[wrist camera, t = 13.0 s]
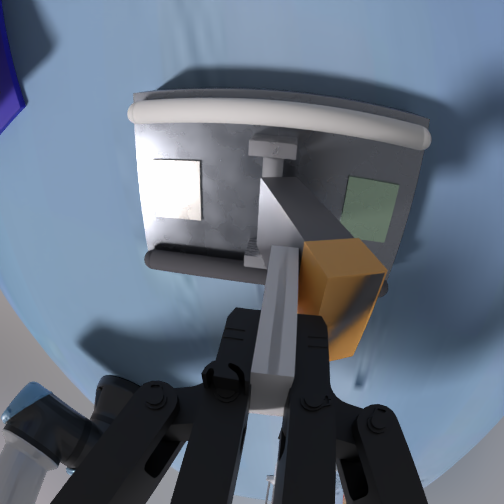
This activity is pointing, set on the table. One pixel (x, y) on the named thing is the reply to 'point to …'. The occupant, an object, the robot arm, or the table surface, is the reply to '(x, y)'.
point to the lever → (319, 257)
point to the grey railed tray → (268, 116)
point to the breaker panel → (250, 172)
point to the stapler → (8, 81)
